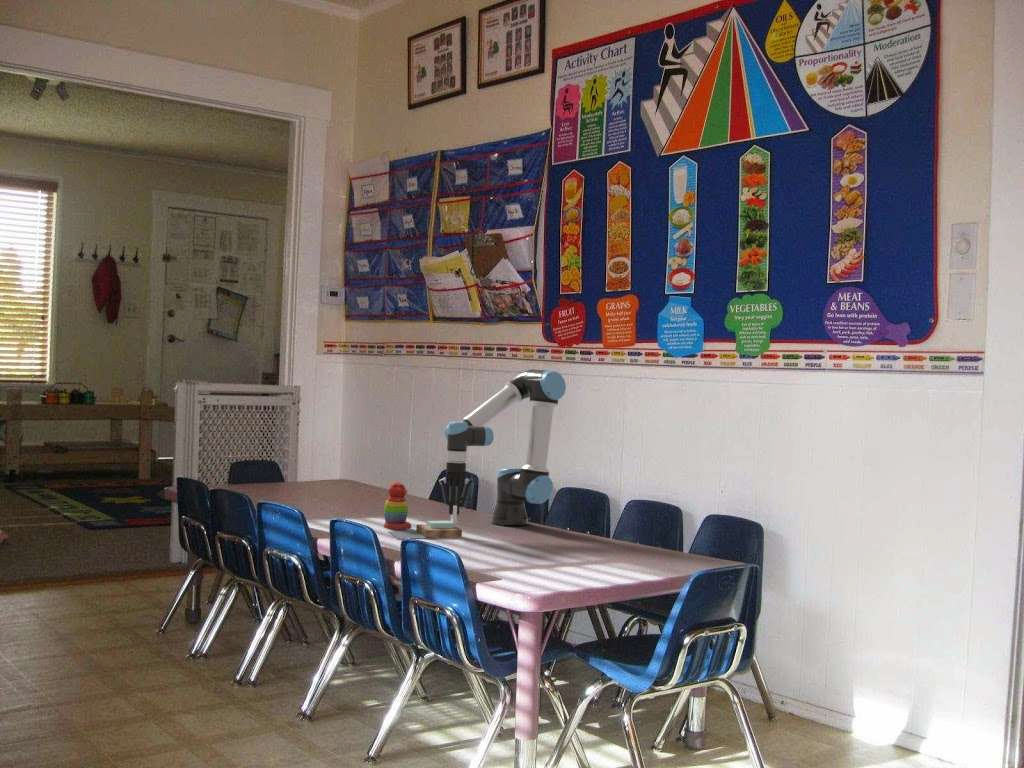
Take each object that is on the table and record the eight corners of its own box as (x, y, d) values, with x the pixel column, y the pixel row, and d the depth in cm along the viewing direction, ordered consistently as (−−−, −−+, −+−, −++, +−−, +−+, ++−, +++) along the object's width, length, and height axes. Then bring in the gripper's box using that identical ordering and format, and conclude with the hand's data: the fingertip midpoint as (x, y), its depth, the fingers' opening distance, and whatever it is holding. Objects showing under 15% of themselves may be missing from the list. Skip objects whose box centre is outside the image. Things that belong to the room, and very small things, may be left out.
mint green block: (449, 525, 426) (449, 520, 426) (453, 528, 420) (453, 523, 420) (426, 526, 423) (426, 520, 423) (431, 528, 417) (431, 523, 417)
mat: (415, 531, 427) (415, 531, 427) (426, 538, 412) (426, 538, 412) (387, 532, 423) (387, 531, 423) (398, 539, 408) (398, 538, 408)
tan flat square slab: (450, 531, 431) (451, 524, 430) (461, 537, 417) (462, 529, 417) (416, 532, 426) (416, 524, 426) (426, 538, 413) (426, 530, 413)
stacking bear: (404, 530, 429) (406, 484, 429) (379, 528, 431) (381, 483, 431) (412, 526, 440) (414, 482, 439) (388, 524, 442) (389, 480, 441)
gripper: (469, 461, 429) (466, 521, 429) (437, 460, 424) (434, 521, 425) (475, 463, 422) (472, 524, 422) (442, 462, 417) (440, 524, 418)
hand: (453, 522), depth 423 cm, fingers closed
